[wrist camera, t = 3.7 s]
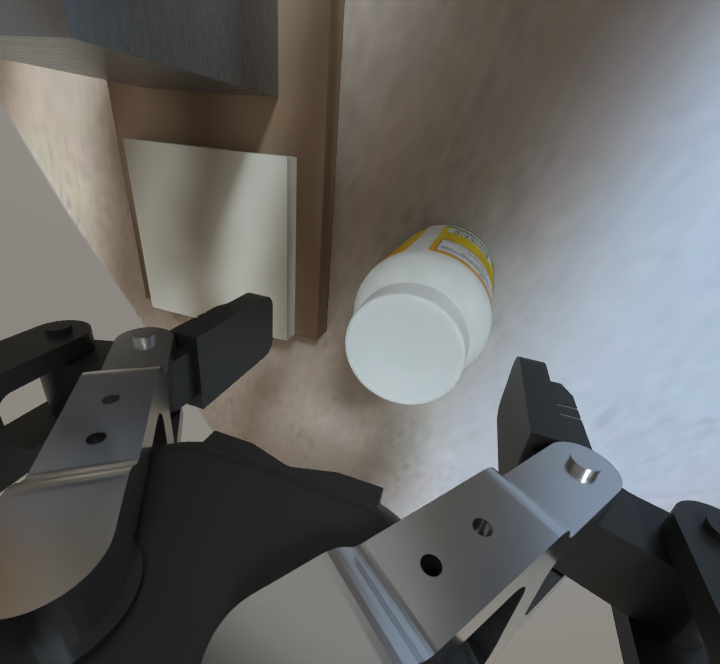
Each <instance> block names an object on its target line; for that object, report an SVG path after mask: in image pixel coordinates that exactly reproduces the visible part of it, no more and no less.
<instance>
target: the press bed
mask: <svg viewBox="0 0 720 664" xmlns="http://www.w3.org/2000/svg"><path fill="white" fill-rule="evenodd" d="M344 3H345V0H278V86H279V97H266V96H252V95H238V94H224V93H210V92H196V91H182V90H168V89H154V88H143V87H138V86H133V85H128V84H123V83H118V82H113V81H108V80H107V83H108V88H109V94H110V99H111V105H112V110H113V116H114V121H115V127H116V132H117V138H118V143H119V149H120V154H121V160H122V165H123V171H124V176H125V182H126V187H127V193H128V198H129V204H130V209H131V214H132V220H133V225H134V231H135V236H136V242H137V247H138V253H139V258H140V264H141V269H142V275H143V280H144V286H145V291H146V297H147V298H149V299H151V302H152V307H154V308H158V309H162V310H166V311H170V312H174V313H178V314H182V315H186V316H190V317H194V318H197V316H199V315H201V314H202V313H206V311H208V310H210V309H212V308H214V307H216V306H219V305H223V304H227V303H229V302H231V301H233V300H235V299H236V298H238V297H240V296H242V295H244V294H246V293H249V292H250V293H254V294H258V295H262V296H267V297H270V298H271V300H272V303H273V338H277V339H281V340H285V341H287V340H289V339H290V338H291V337H292V336H293V335H294V334H296V335H300V336H304V337H308V338H312V339H316V340H317V339H318V338H319V337H320V336H321V335H322V334H323V333H324V332H325V331H326V329H327V310H328V292H329V274H330V256H331V238H332V220H333V202H334V184H335V166H336V148H337V129H338V111H339V93H340V75H341V57H342V39H343V21H344Z"/></svg>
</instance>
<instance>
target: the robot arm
mask: <svg viewBox="0 0 720 664" xmlns="http://www.w3.org/2000/svg"><path fill="white" fill-rule="evenodd" d="M272 339H273V303H272V300H271V298H270V297H267V296H262V295H258V294H254V293H250V292H249V293H246V294H244V295H242V296H240V297H238V298H236V299H235V300H233V301H231V302H229V303H227V304H223V305H219V306H216V307H214V308H212V309H210V310H208V311H206V313H202V314H201V315H199V316H197V318H193V319H191V320H189V321H187V322H185V323H183V324H181V325H179V326H177V327H175V328H174V329H172V330H170V331H168V330H166V329H162V328H155V327H147V328H138V329H134V330H130V331H127V332H125V333H123V334H121V335H119V336H118V337H117V338H116V339H115V341H103V340H94V337H93V334H92V329H91V326H90V325H89V324H88V323H86V322H83V321H76V320H66V321H56V322H51V323H46V324H43V325H40V326H37V327H35V328H32V329H29V330H27V331H24V332H22V333H19V334H17V335H14V336H12V337H9V338H6V339H4V340H1V341H0V403H1V401H2V400H3V398H4V397H5V396H6V395H7V394H9V393H10V392H12V391H14V390H16V389H18V388H20V387H21V386H24V385H26V384H27V383H29V382H31V381H33V380H35V379H37V378H39V377H40V380H41V383H42V386H43V389H44V392H45V395H46V398H47V402H45V403H43V404H41V405H40V406H38V407H36V408H35V409H33V410H31V411H29V412H28V413H26V414H24V415H22V416H21V417H19V418H17V419H16V420H14V421H12V422H10V423H9V424H7V425H5V426H4V424H3V422H2V420H1V417H0V492H2V491H3V490H4V489H6V488H7V487H8V488H7V489H6V490H5V491H4V492H3V493H2V495H1V496H0V664H493V663H494V662H495V660H496V659H497V658H498V657H499V655H500V654H501V653H502V652H503V650H504V649H505V648H506V646H507V645H508V643H509V642H510V640H511V639H512V638H513V637H514V635H515V634H516V633H517V632H518V630H519V629H520V628H521V627H522V626H523V625H524V624H525V622H526V621H527V620H528V619H529V618H530V617H531V616H532V615H533V614H534V613H535V612H536V611H537V610H538V608H539V607H540V606H541V605H542V604H543V603H544V602H545V601H546V600H547V599H548V598H549V597H550V596H551V594H552V593H553V592H554V591H555V590H556V589H557V588H558V587H559V586H560V585H561V584H562V583H563V582H564V581H565V580H566V578H567V577H569V578H570V579H572V580H573V581H575V582H577V583H578V584H579V585H581V586H583V587H584V588H586V589H587V590H589V591H590V592H592V593H593V594H595V595H597V596H598V597H600V598H601V599H603V600H605V601H606V602H608V603H609V604H611V607H612V612H613V616H614V621H615V625H616V630H617V635H618V639H619V644H620V648H621V653H622V658H623V662H624V664H720V509H717V508H715V507H713V506H710V505H708V504H705V503H701V502H697V501H687V500H686V501H681V502H679V503H677V504H676V505H675V507H674V508H673V509H672V511H671V512H670V513H669V512H667V511H665V510H663V509H661V508H659V507H657V506H655V505H653V504H651V503H649V502H647V501H645V500H643V499H641V498H639V497H637V496H635V495H633V494H631V493H629V492H628V491H626V490H625V489H623V488H622V485H623V484H622V479H621V476H620V474H619V472H618V471H617V470H616V468H615V467H614V466H613V465H612V464H611V463H610V462H609V461H608V460H606V459H605V458H604V457H602V456H601V455H600V454H598V453H596V452H595V451H593V450H592V448H591V445H590V443H589V440H588V437H587V434H586V432H585V429H584V426H583V423H582V421H581V420H580V415H579V412H578V410H577V407H576V404H575V401H574V398H573V396H572V395H571V394H570V393H569V392H568V391H567V390H566V389H565V387H564V386H563V385H562V384H559V383H555V382H551V381H550V378H549V374H548V371H547V367H546V364H545V363H544V362H539V361H535V360H531V359H527V358H522V357H517V358H516V359H515V362H514V364H513V367H512V370H511V373H510V375H509V378H508V381H507V384H506V387H505V390H504V393H503V396H502V398H501V401H500V405H499V409H498V416H497V434H498V468H499V472H498V471H497V470H495V469H494V468H492V467H491V468H487V469H485V470H483V471H481V472H479V473H478V474H476V475H474V476H473V477H471V478H470V479H468V480H466V481H465V482H463V483H461V484H460V485H458V486H456V487H455V488H453V489H451V490H450V491H448V492H446V493H445V494H443V495H441V496H440V497H438V498H436V499H435V500H433V501H431V502H430V503H428V504H426V505H425V506H423V507H422V508H420V509H418V510H417V511H415V512H413V513H412V514H410V515H408V516H407V517H405V518H403V519H402V520H401V519H400V518H399V517H398V516H396V515H395V514H394V513H393V512H391V511H390V510H389V509H388V508H386V507H385V506H383V505H381V504H380V503H381V498H382V493H383V488H381V487H379V486H376V485H373V484H370V483H367V482H364V481H361V480H358V479H355V478H352V477H349V476H346V475H343V474H340V473H336V472H328V471H320V470H311V469H303V468H295V467H290V466H287V465H285V464H283V463H282V462H280V461H279V460H277V459H276V458H274V457H273V456H271V455H270V454H268V453H266V452H265V451H263V450H262V449H260V448H259V447H257V446H256V445H254V444H253V443H250V442H247V441H244V440H241V439H238V438H235V437H232V436H229V435H226V434H223V433H220V432H218V431H214V432H213V433H212V434H211V435H210V436H209V437H208V438H207V439H206V440H205V441H204V442H181V433H182V423H183V409H182V406H184V405H185V404H189V405H193V406H196V407H199V408H202V409H204V408H205V407H206V406H208V405H209V404H210V403H211V402H212V401H213V400H215V399H216V398H217V397H218V396H219V395H220V394H222V393H223V392H224V391H225V390H226V389H227V388H229V387H230V386H231V385H232V384H233V383H234V382H236V381H237V380H238V379H239V378H240V377H241V376H243V375H244V374H245V373H246V372H247V371H249V370H250V369H251V368H252V367H253V366H254V365H256V364H257V363H258V362H259V361H260V360H261V359H263V358H264V357H265V356H266V355H267V354H268V352H269V350H270V348H271V345H272ZM28 472H29V473H28ZM27 473H28V475H27V476H26V478H25V479H24V480H23V481H21V482H19V483H15V484H13V483H14V482H16V481H17V480H18V479H20V478H21V477H23V476H24V475H25V474H27ZM11 484H13V485H11ZM10 485H11V486H10Z"/></svg>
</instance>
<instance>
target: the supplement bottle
mask: <svg viewBox="0 0 720 664" xmlns="http://www.w3.org/2000/svg"><path fill="white" fill-rule="evenodd" d="M493 289H494V267H493V262H492V258H491V256H490V254H489V251H488V250H487V248H486V246H485V245H484V244H483V243H482V242H481V240H480V239H479V238H477V237H476V236H475V235H474V234H472V233H471V232H469V231H467V230H465V229H463V228H460V227H457V226H452V225H435V226H431V227H427V228H425V229H422V230H420V231H418V232H416V233H415V234H413V235H412V236H411V237H409V238H408V239H407V240H406V241H405V242H403V243H402V244H401V245H400V246H399V247H398V248H397V249H395V250H394V251H393V252H392V253H391V254H389V255H388V256H387V257H386V258H384V259H383V260H381V262H379V263H378V264H377V265H376V266H375V267H374V268H373V269H372V270H371V271H370V272H369V274H368V275H367V276H366V277H365V279H364V280H363V282H362V283H361V285H360V287H359V290H358V292H357V295H356V298H355V303H354V312H353V317H352V318H351V320H350V322H349V324H348V327H347V331H346V336H345V351H346V356H347V359H348V362H349V365H350V367H351V369H352V370H353V372H354V374H355V375H356V377H357V378H358V379H359V381H360V382H361V383H362V384H363V385H364V386H365V387H366V388H368V389H369V390H370V391H371V392H373V393H374V394H376V395H378V396H379V397H381V398H383V399H386V400H388V401H391V402H394V403H398V404H405V405H418V404H425V403H429V402H432V401H434V400H437V399H439V398H441V397H442V396H444V395H446V394H447V393H448V392H449V391H450V390H451V389H453V387H454V386H455V385H456V384H457V383H458V381H459V379H460V377H461V375H462V373H463V370H465V369H466V368H468V367H469V366H470V365H471V364H472V363H473V362H474V361H475V360H476V359H477V358H478V357H479V355H480V354H481V353H482V351H483V349H484V347H485V345H486V343H487V341H488V338H489V335H490V331H491V326H492V311H493Z"/></svg>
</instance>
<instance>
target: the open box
mask: <svg viewBox="0 0 720 664" xmlns="http://www.w3.org/2000/svg"><path fill="white" fill-rule="evenodd" d="M0 58H1V59H6V60H11V61H16V62H20V63H25V64H30V65H35V66H40V67H45V68H50V69H55V70H60V71H64V72H69V73H74V74H79V75H84V76H89V77H94V78H99V79H104V80H108V81H113V82H118V83H123V84H128V85H133V86H138V87H143V88H154V89H168V90H182V91H196V92H210V93H224V94H238V95H252V96H266V97H279V86H278V0H0Z"/></svg>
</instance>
